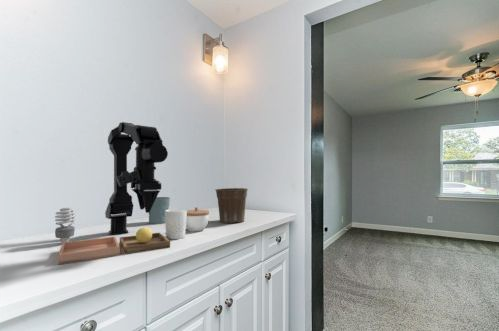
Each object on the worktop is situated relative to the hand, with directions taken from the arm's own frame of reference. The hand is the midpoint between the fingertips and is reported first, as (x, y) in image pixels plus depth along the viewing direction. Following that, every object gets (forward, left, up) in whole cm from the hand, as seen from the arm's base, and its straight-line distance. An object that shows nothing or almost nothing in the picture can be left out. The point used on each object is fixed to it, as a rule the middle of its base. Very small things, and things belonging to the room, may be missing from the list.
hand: (144, 210), depth 84 cm
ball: (0, 0, -10) cm, 10 cm away
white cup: (-5, +12, -12) cm, 17 cm away
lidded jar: (-13, +23, -12) cm, 29 cm away
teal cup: (-39, +14, -12) cm, 43 cm away
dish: (0, -15, -11) cm, 19 cm away
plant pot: (-22, +45, -12) cm, 51 cm away
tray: (0, 0, -11) cm, 11 cm away
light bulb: (-17, -22, -12) cm, 30 cm away
